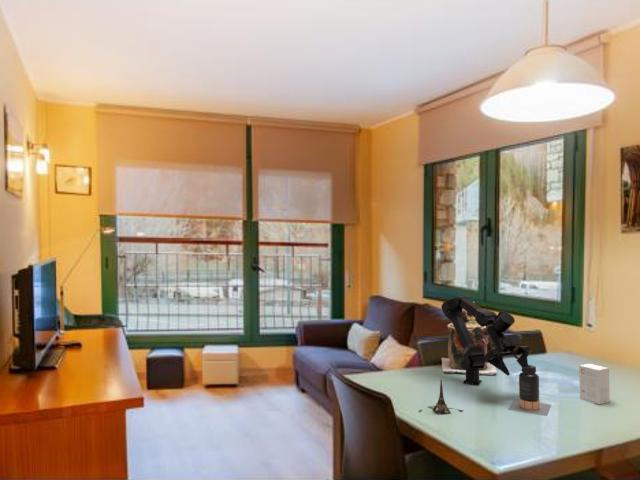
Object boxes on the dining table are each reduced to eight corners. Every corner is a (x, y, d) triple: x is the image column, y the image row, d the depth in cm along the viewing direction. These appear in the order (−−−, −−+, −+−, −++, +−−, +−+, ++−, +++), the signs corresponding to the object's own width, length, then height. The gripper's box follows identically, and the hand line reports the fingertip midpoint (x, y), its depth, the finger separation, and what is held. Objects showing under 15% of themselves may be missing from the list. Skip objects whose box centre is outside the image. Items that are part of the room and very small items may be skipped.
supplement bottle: (543, 400, 174) (543, 367, 174) (527, 402, 172) (527, 369, 172) (530, 394, 180) (530, 363, 180) (515, 396, 179) (514, 364, 179)
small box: (610, 402, 181) (609, 368, 181) (599, 405, 178) (598, 370, 178) (589, 396, 189) (589, 363, 189) (579, 398, 186) (578, 365, 186)
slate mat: (514, 399, 185) (514, 399, 185) (551, 405, 178) (551, 404, 178) (507, 410, 174) (507, 409, 174) (547, 416, 167) (547, 416, 167)
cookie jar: (440, 360, 246) (440, 298, 246) (491, 362, 240) (490, 299, 240) (442, 374, 222) (442, 305, 221) (498, 376, 216) (498, 306, 216)
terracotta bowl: (521, 402, 181) (521, 394, 181) (540, 405, 177) (540, 397, 177) (518, 408, 175) (518, 400, 175) (538, 411, 172) (538, 403, 172)
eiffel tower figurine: (467, 412, 174) (466, 375, 174) (459, 421, 165) (458, 383, 165) (427, 405, 182) (427, 370, 182) (417, 413, 173) (417, 376, 173)
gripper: (488, 328, 183) (509, 365, 173) (527, 325, 189) (549, 360, 179) (475, 345, 191) (494, 380, 180) (513, 341, 197) (533, 375, 187)
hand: (518, 373), depth 181 cm, fingers open, 9 cm apart
